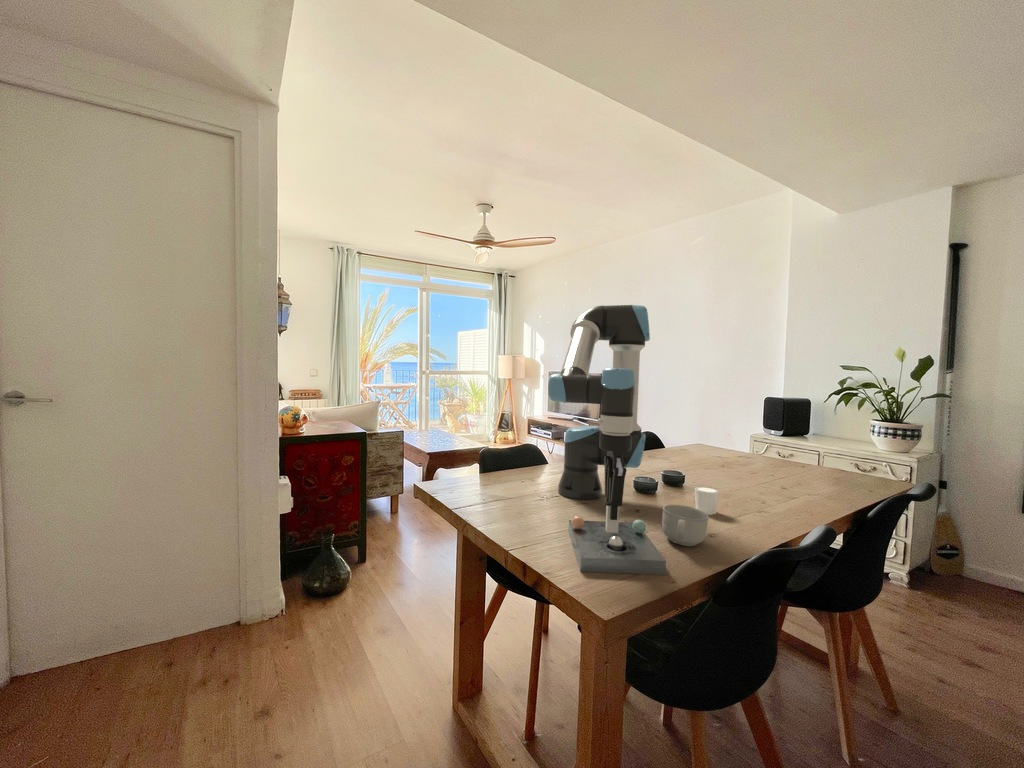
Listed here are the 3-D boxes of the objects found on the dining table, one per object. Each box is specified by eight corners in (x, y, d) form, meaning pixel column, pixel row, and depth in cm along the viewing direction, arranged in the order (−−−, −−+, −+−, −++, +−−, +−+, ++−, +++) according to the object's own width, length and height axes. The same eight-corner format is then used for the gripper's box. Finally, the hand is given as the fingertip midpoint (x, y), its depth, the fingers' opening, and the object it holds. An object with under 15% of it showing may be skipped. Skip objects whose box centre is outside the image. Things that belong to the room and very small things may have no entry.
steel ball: (607, 537, 98) (609, 533, 95) (620, 538, 98) (623, 534, 95) (608, 552, 96) (611, 548, 93) (622, 552, 96) (625, 549, 93)
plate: (568, 531, 111) (568, 520, 111) (636, 533, 111) (637, 522, 111) (580, 571, 89) (580, 557, 89) (665, 574, 89) (666, 560, 89)
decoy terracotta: (570, 526, 107) (570, 513, 106) (583, 526, 106) (583, 514, 106) (572, 531, 103) (572, 518, 103) (585, 531, 103) (585, 518, 103)
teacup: (669, 529, 114) (670, 500, 114) (712, 541, 108) (713, 510, 107) (650, 545, 104) (651, 513, 103) (696, 559, 97) (698, 525, 96)
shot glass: (689, 510, 130) (690, 488, 130) (699, 506, 135) (700, 485, 135) (712, 517, 125) (713, 494, 125) (721, 512, 130) (722, 490, 130)
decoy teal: (630, 530, 105) (631, 517, 105) (643, 530, 105) (643, 518, 105) (634, 535, 102) (634, 522, 102) (647, 535, 102) (647, 522, 102)
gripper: (594, 428, 106) (591, 520, 107) (605, 436, 93) (601, 541, 94) (624, 429, 106) (621, 522, 106) (639, 438, 93) (634, 543, 93)
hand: (611, 531), depth 100 cm, fingers closed
